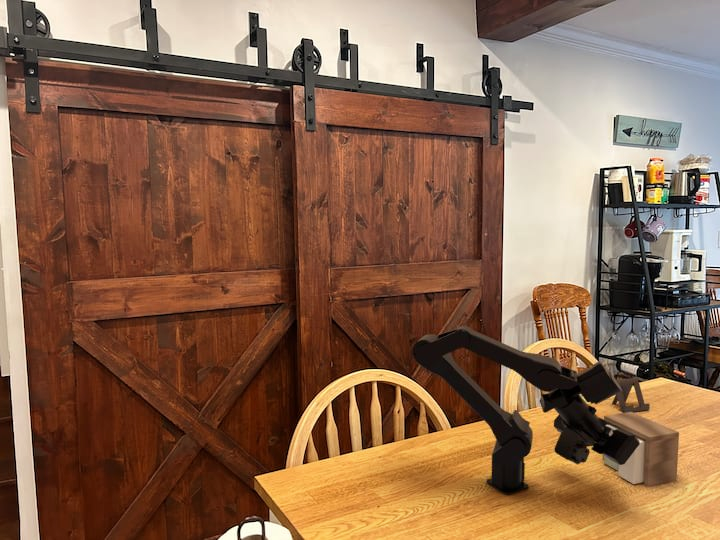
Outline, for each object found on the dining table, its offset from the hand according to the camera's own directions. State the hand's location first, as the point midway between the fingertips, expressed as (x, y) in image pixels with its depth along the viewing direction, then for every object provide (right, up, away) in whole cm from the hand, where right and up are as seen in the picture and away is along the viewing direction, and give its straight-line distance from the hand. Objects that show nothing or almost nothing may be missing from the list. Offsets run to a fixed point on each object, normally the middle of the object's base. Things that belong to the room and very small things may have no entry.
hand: (613, 456), depth 113 cm
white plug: (+9, -6, +4) cm, 12 cm away
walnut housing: (+9, -6, +7) cm, 13 cm away
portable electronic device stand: (+26, -2, +47) cm, 54 cm away
